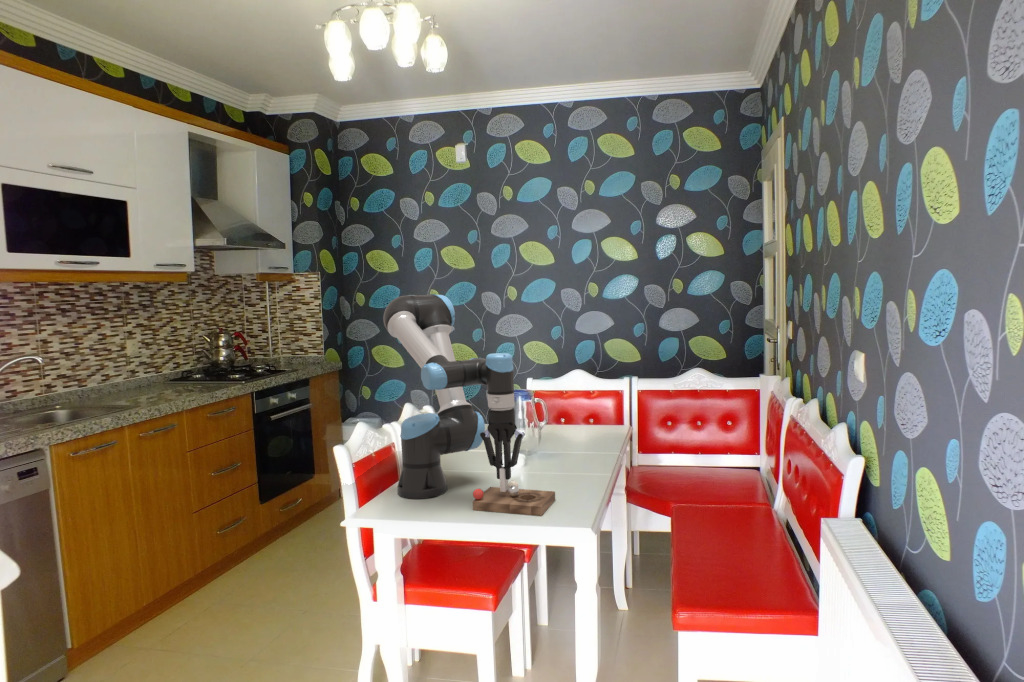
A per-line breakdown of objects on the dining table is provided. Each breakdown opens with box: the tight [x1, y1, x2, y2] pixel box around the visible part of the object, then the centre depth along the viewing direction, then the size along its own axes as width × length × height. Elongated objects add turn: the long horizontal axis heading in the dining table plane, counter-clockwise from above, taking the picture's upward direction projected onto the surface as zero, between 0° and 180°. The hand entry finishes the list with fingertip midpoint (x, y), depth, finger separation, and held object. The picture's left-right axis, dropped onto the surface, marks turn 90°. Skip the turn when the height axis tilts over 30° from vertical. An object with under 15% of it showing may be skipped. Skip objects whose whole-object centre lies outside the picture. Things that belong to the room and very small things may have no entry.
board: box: [472, 486, 556, 517], centre depth 191 cm, size 20×14×2 cm
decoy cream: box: [508, 480, 519, 488], centre depth 196 cm, size 3×3×3 cm
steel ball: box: [508, 485, 520, 497], centre depth 191 cm, size 3×3×3 cm
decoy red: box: [472, 488, 484, 500], centre depth 189 cm, size 3×3×3 cm
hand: (504, 490), depth 192 cm, fingers closed
